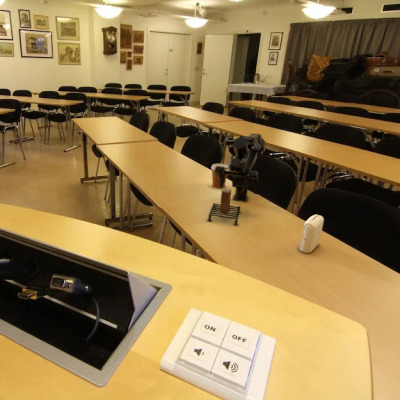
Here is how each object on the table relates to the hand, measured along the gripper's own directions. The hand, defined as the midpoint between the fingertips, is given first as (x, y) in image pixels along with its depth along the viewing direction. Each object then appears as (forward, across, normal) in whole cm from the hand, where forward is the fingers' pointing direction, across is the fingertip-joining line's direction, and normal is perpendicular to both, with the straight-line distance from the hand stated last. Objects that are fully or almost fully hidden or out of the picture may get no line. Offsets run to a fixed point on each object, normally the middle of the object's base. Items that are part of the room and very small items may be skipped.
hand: (230, 190), depth 142 cm
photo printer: (+18, +34, -2) cm, 39 cm away
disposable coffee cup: (-14, -15, +30) cm, 37 cm away
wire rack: (+11, 0, +4) cm, 12 cm away
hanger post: (+10, 0, +1) cm, 10 cm away
